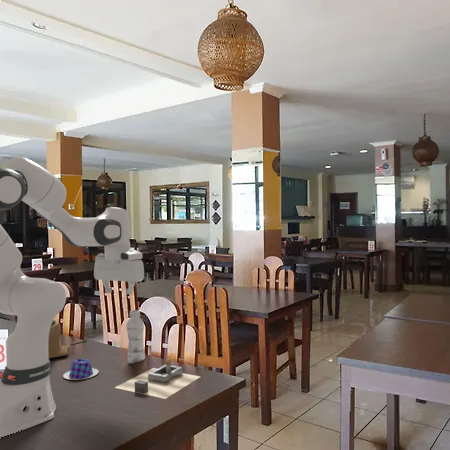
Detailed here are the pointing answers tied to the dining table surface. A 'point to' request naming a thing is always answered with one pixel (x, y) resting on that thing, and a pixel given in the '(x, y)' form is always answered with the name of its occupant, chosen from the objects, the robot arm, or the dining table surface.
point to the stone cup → (56, 342)
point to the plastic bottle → (135, 337)
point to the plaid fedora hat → (80, 370)
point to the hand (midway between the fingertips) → (118, 293)
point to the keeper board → (157, 383)
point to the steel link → (159, 377)
